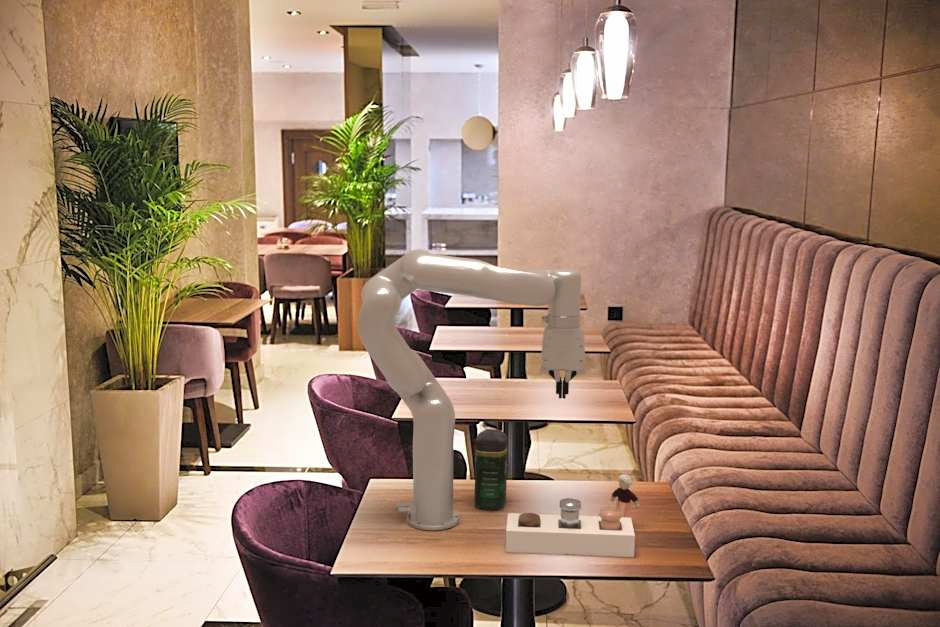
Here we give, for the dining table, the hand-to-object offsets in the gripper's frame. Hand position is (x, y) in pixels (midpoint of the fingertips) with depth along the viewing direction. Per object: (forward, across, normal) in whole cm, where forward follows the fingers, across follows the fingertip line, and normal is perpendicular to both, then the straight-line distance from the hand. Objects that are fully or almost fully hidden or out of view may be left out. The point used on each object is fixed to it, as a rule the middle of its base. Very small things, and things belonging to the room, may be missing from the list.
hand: (562, 396), depth 230 cm
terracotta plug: (+27, +11, -19) cm, 35 cm away
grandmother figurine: (+29, +15, -7) cm, 34 cm away
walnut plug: (+29, -7, -19) cm, 35 cm away
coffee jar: (+29, -17, +4) cm, 34 cm away
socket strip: (+29, +2, -19) cm, 35 cm away
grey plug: (+25, +2, -19) cm, 31 cm away
